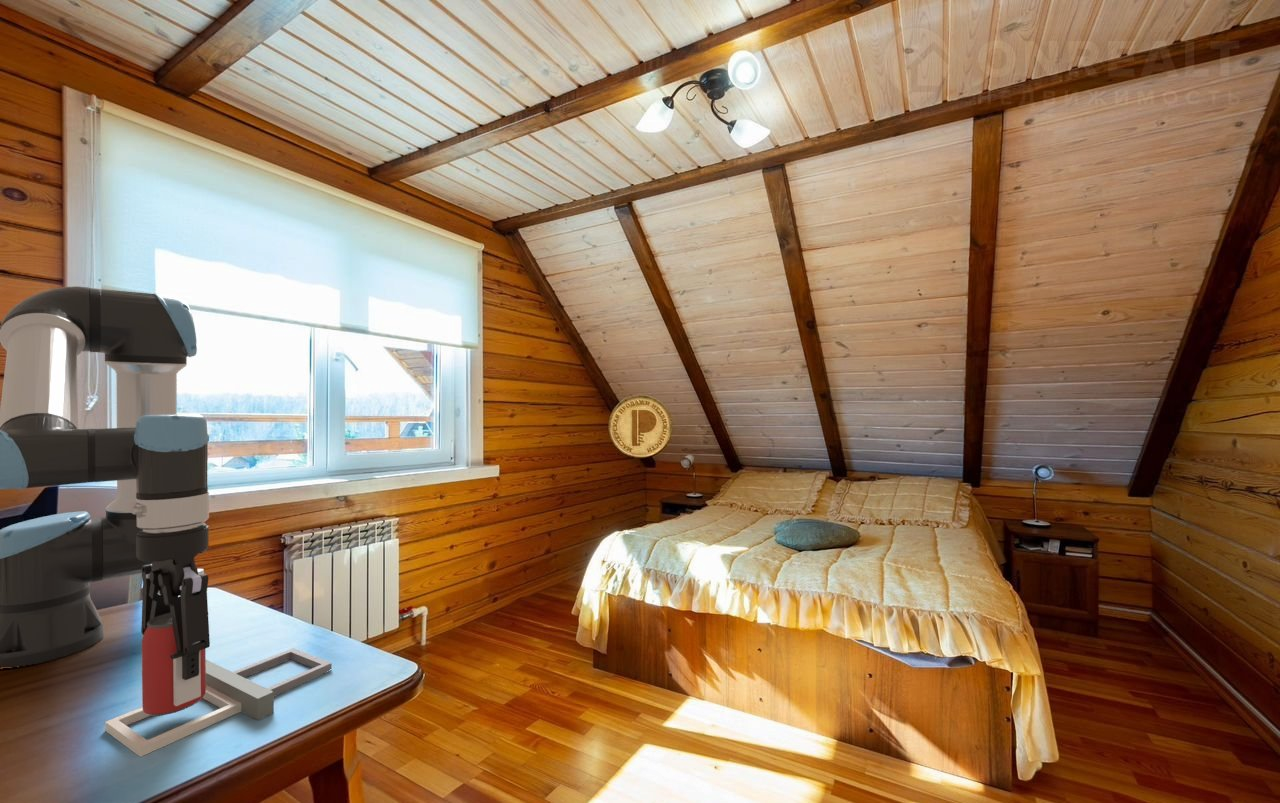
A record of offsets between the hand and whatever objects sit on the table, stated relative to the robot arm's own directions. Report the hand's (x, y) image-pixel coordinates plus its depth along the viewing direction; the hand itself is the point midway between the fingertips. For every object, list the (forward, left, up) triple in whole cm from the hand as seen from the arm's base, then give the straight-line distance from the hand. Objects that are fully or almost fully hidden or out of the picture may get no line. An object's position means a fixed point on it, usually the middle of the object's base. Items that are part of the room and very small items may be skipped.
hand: (175, 693), depth 74 cm
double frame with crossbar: (0, +7, -4) cm, 8 cm away
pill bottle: (-47, +21, -4) cm, 52 cm away
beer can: (0, 0, -2) cm, 2 cm away
